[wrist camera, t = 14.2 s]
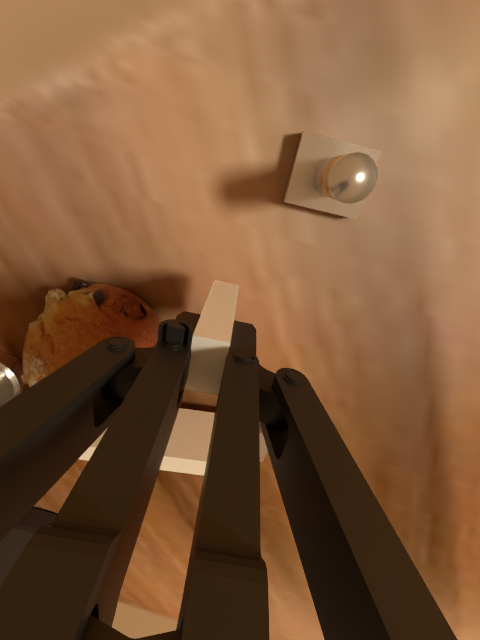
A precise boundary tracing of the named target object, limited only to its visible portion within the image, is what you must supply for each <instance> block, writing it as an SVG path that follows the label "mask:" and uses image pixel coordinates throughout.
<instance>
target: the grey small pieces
mask: <svg viewBox="0 0 480 640" xmlns="http://www.w3.org/2000/svg"><path fill="white" fill-rule="evenodd" d="M381 152H382V151H380V150H376V149H372V148H368V147H364V146H360V145H356V144H353V143H349V142H345V141H341V140H337V139H333V138H329V137H325V136H322V135H318V134H314V133H310V132H306V131H303V132H301V135H300V139H299V143H298V147H297V150H296V154H295V158H294V162H293V165H292V169H291V173H290V177H289V180H288V184H287V188H286V192H285V195H284V199H283V201H284V202H286V203H290V204H295V205H299V206H303V207H307V208H311V209H315V210H319V211H323V212H327V213H332V214H336V215H340V216H344V217H348V218H352V219H356V218H357V215H358V212H359V210H360V207H361V205H362V202H363V199H364V198H366V197H367V196H368V195H369V194H370V193H371V191H372V190H373V188H374V186H375V184H376V181H377V175H378V173H377V167H376V165H377V163H378V160H379V158H380V155H381ZM259 438H260V461H261V462H263V460H264V457H265V455H266V452H267V446H266V443H265V440H264V436H263V433H262V430H261V426H259Z"/></svg>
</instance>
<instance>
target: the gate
mask: <svg viewBox="0 0 480 640" xmlns="http://www.w3.org/2000/svg"><path fill="white" fill-rule="evenodd" d="M214 414H215V413H212V412H205V411H197V410H190V409H182V408H179V411H178V414H177V417H176V420H175V423H174V426H173V429H172V432H171V435H170V439H169V442H168V445H167V448H166V451H165V454H164V457H163V460H162V463H161V466H160V469H159V470H166V471H173V472H181V473H189V474H196V475H204V473H205V468H206V462H207V456H208V451H209V445H210V439H211V434H212V428H213V422H214ZM106 430H107V429H106ZM106 430H105V431H104V432H103V433H102V434H101V435H100V436H99V437H98V438H97V440H96V441H95V442H94V443H93V444H92V445H91V446H90V447H89V448H88V449H87V450H86V451H85V452H84V453H83V454H82V455H81V456H80V458H79V459H80V460H88V461H89V459H90V458H91V456H92V454H93V452H94V451H95V449H96V447H97V445H98V444H99V442H100V440H101V439H102V437H103V435H104V433H105V432H106Z"/></svg>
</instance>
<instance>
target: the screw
mask: <svg viewBox="0 0 480 640" xmlns="http://www.w3.org/2000/svg"><path fill="white" fill-rule="evenodd" d="M23 374H24V373H23V366H22V364H21V362H20V360H19V358H17V357H14V356H11V355H8V354H6V353H3V352H0V405H4V404H5V403H7V402H8V401H10V400H11V399H13V398H14V397H16V396H17V395H19V394H21V393H22V392H23V382H22V380H21V377H20V376H21V375H23Z"/></svg>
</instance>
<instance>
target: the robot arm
mask: <svg viewBox="0 0 480 640" xmlns="http://www.w3.org/2000/svg"><path fill="white" fill-rule="evenodd" d="M238 291H239V285H237V284H232V283H227V282H222V281H218V280H214V282H213V285H212V288H211V290H210V293H209V295H208V298H207V300H206V303H205V305H204V308H203V311H202V313H201V315H200V314H195V313H190V312H185V311H184V312H182V313H180V314H179V315H177V317H176V319H171V320H165V321H162V322H161V323H160V324H159V328H158V340H157V344H156V345H155V346H153V347H146V348H135V342H134V341H133V340H131V339H129V338H127V337H122V336H114V337H108V338H106V339H104V340H102V341H100V342H99V343H97V344H96V345H94V346H92V347H91V348H89V349H88V350H86V351H85V352H83V353H82V354H80V355H79V356H77V357H76V358H74V359H73V360H71V361H70V362H68V363H66V364H65V365H63V366H62V367H60V368H59V369H57V370H56V371H54V372H53V373H51V374H50V375H48V376H47V377H45V378H43V379H42V380H40V381H39V382H37V383H36V384H34V385H33V386H31V387H30V388H28V389H27V390H25V391H24V392H22V393H21V394H19V395H17V396H16V397H14V398H13V399H11V400H10V401H8V402H7V403H5V404H4V405H2V406H1V407H0V640H269V608H268V578H267V569H266V564H265V562H264V560H263V559H262V558H261V550H260V438H259V421H260V426H261V430H262V433H263V436H264V440H265V443H266V446H267V450H268V453H269V456H270V460H271V463H272V466H273V470H274V473H275V476H276V480H277V483H278V486H279V489H280V493H281V496H282V499H283V503H284V506H285V509H286V513H287V516H288V519H289V523H290V526H291V529H292V533H293V536H294V539H295V543H296V546H297V549H298V552H299V556H300V559H301V562H302V566H303V569H304V572H305V576H306V579H307V582H308V586H309V589H310V592H311V596H312V599H313V602H314V606H315V609H316V612H317V615H318V619H319V622H320V625H321V629H322V632H323V635H324V639H325V640H457V638H456V636H455V635H454V633H453V631H452V629H451V628H450V626H449V624H448V623H447V621H446V619H445V617H444V616H443V614H442V612H441V610H440V609H439V607H438V605H437V603H436V602H435V600H434V598H433V596H432V595H431V593H430V591H429V589H428V588H427V586H426V584H425V583H424V581H423V579H422V577H421V576H420V574H419V572H418V570H417V569H416V567H415V565H414V563H413V562H412V560H411V558H410V556H409V555H408V553H407V551H406V549H405V548H404V546H403V544H402V543H401V541H400V539H399V537H398V536H397V534H396V532H395V530H394V529H393V527H392V525H391V523H390V522H389V520H388V518H387V516H386V515H385V513H384V511H383V509H382V508H381V506H380V504H379V502H378V501H377V499H376V497H375V496H374V494H373V492H372V490H371V489H370V487H369V485H368V483H367V482H366V480H365V478H364V476H363V475H362V473H361V471H360V469H359V468H358V466H357V464H356V462H355V461H354V459H353V457H352V456H351V454H350V452H349V450H348V449H347V447H346V445H345V443H344V442H343V440H342V438H341V436H340V435H339V433H338V431H337V429H336V428H335V426H334V424H333V422H332V421H331V419H330V417H329V416H328V414H327V412H326V410H325V409H324V407H323V405H322V403H321V402H320V400H319V398H318V396H317V395H316V393H315V391H314V389H313V388H312V386H311V384H310V382H309V381H308V379H307V378H306V377H305V375H303V374H302V373H301V372H299V371H297V370H295V369H291V368H281V369H279V370H277V372H276V374H275V373H273V372H271V371H268V370H266V369H265V368H263V367H262V366H261V365H260V364H259V360H258V358H257V357H256V329H255V327H254V326H253V325H252V324H248V323H243V322H239V321H234V317H235V310H236V304H237V297H238ZM185 384H186V386H185ZM184 387H185V389H188V390H193V391H199V392H204V393H209V394H215V395H219V396H218V400H217V405H216V410H215V414H214V422H213V428H212V434H211V439H210V445H209V451H208V456H207V462H206V468H205V473H204V479H203V485H202V490H201V496H200V502H199V507H198V513H197V519H196V524H195V530H194V536H193V541H192V547H191V553H190V558H189V564H188V570H187V575H186V581H185V587H184V592H183V598H182V603H181V609H180V614H179V619H178V624H177V629H176V631H171V632H167V633H162V634H157V635H152V636H148V637H143V638H138V639H132V638H129V637H127V636H125V635H123V634H122V633H120V632H119V631H117V630H115V629H114V628H112V623H113V619H114V615H115V611H116V607H117V602H118V598H119V594H120V590H121V587H122V584H123V581H124V578H125V575H126V571H127V568H128V565H129V562H130V559H131V556H132V553H133V550H134V547H135V544H136V541H137V537H138V534H139V531H140V528H141V525H142V522H143V519H144V516H145V513H146V510H147V507H148V503H149V500H150V497H151V494H152V491H153V488H154V485H155V482H156V479H157V476H158V473H159V469H160V466H161V463H162V460H163V457H164V454H165V451H166V448H167V445H168V442H169V439H170V435H171V432H172V429H173V426H174V423H175V420H176V417H177V414H178V411H179V408H180V405H181V401H182V398H183V393H184ZM106 429H107V430H106ZM105 430H106V432H105V433H104V435H103V437H102V439H101V440H100V442H99V444H98V445H97V447H96V449H95V451H94V452H93V454H92V456H91V458H90V459H89V461H88V463H87V464H86V466H85V468H84V470H83V471H82V473H81V475H80V477H79V478H78V480H77V482H76V484H75V485H74V487H73V489H72V490H71V492H70V494H69V496H68V497H67V499H66V501H65V503H64V504H63V506H62V508H61V509H60V511H59V513H58V514H57V515H56V514H53V513H50V512H46V511H43V510H39V509H34V508H32V507H33V506H34V505H35V504H36V503H37V502H38V501H39V500H40V499H41V498H42V497H43V496H44V495H45V493H46V492H47V491H48V490H49V489H50V488H51V487H52V486H53V485H54V484H55V483H56V482H57V481H58V480H59V479H60V478H61V477H62V476H63V474H64V473H65V472H66V471H67V470H68V469H69V468H70V467H71V466H72V465H73V464H74V463H75V462H76V461H77V460H78V459H79V458H80V456H81V455H82V454H83V453H84V452H85V451H86V450H87V449H88V448H89V447H90V446H91V445H92V444H93V443H94V442H95V441H96V440H97V438H98V437H99V436H100V435H101V434H102V433H103V432H104V431H105Z"/></svg>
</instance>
